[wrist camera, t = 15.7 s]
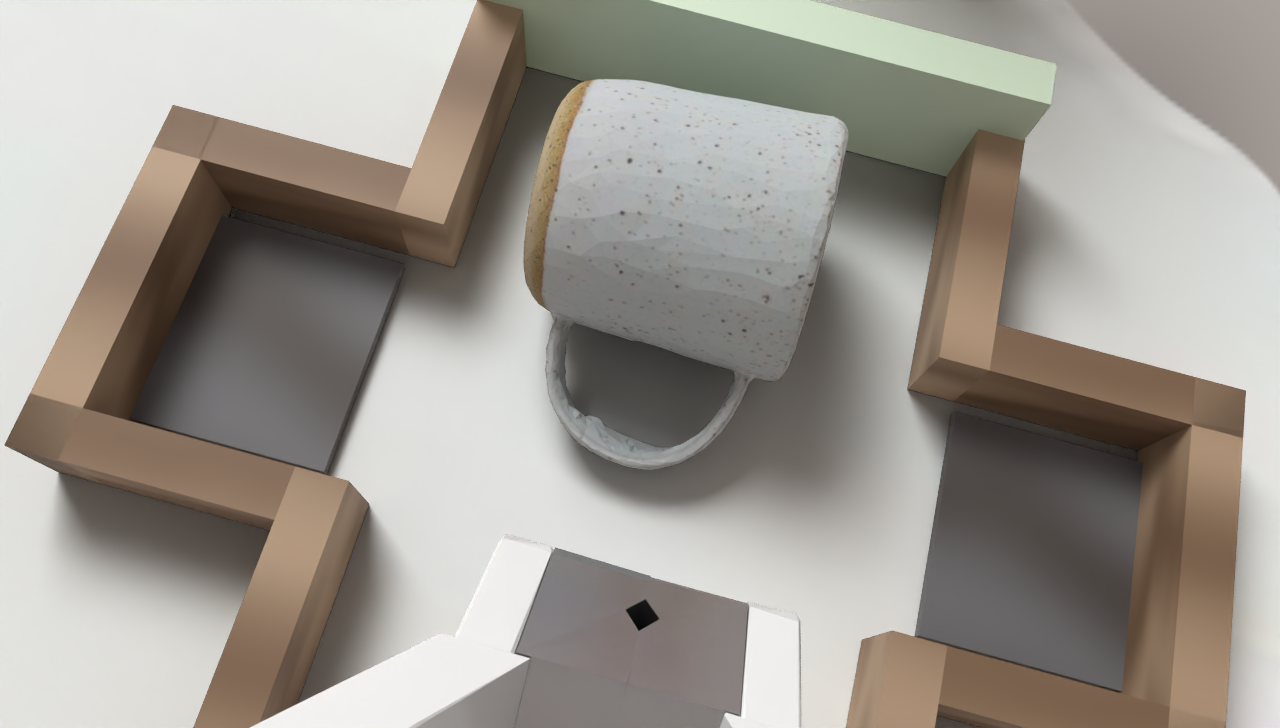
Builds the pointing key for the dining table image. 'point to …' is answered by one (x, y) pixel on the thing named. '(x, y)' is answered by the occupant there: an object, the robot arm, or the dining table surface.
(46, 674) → the dining table surface
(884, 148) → the sage end wall
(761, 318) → the ceramic mug
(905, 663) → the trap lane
